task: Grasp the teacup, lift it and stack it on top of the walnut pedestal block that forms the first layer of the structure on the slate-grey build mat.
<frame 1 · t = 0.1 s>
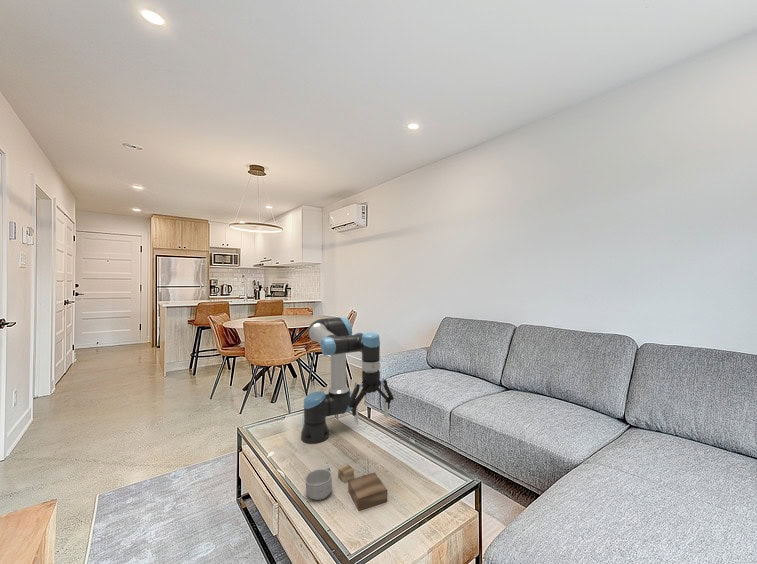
hand: (371, 419, 140), 28 cm above the table, fingers open, 13 cm apart
pedestal block: (367, 496, 132), point 1 cm above the table, touching build mat
build mat: (365, 495, 134), on the table
teacup: (321, 493, 136), on the table
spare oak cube: (346, 479, 144), on the table
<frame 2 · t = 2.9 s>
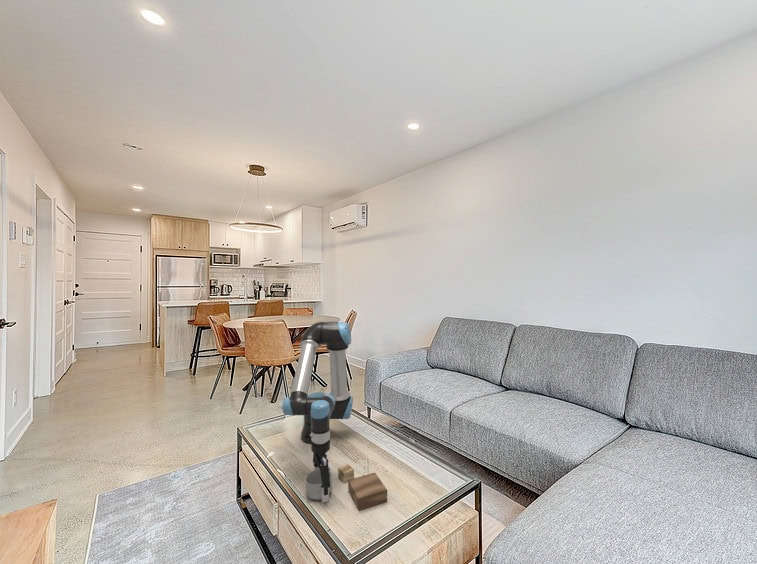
hand: (321, 491, 135), 1 cm above the table, fingers open, 12 cm apart
teacup: (321, 493, 136), on the table, touching gripper
everything else where it was.
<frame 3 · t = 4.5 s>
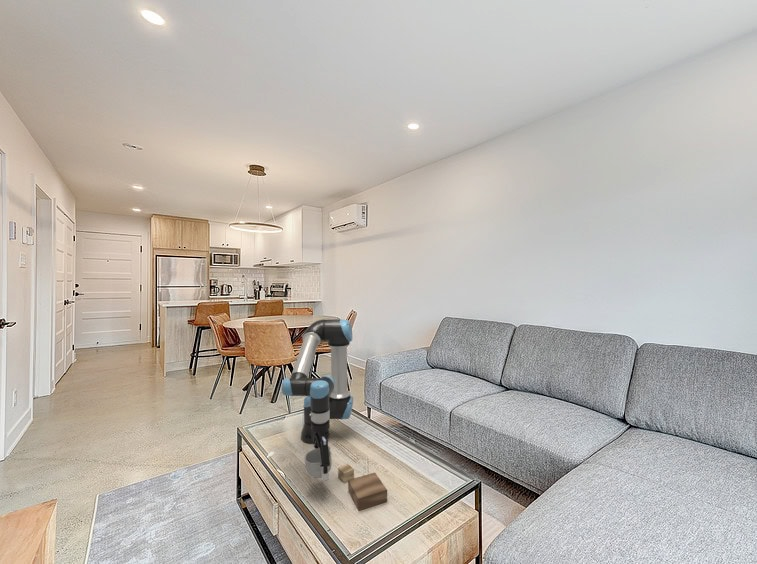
hand: (321, 471, 136), 9 cm above the table, fingers closed on teacup, 11 cm apart
teacup: (321, 471, 137), point 8 cm above the table, touching gripper
everything else where it was.
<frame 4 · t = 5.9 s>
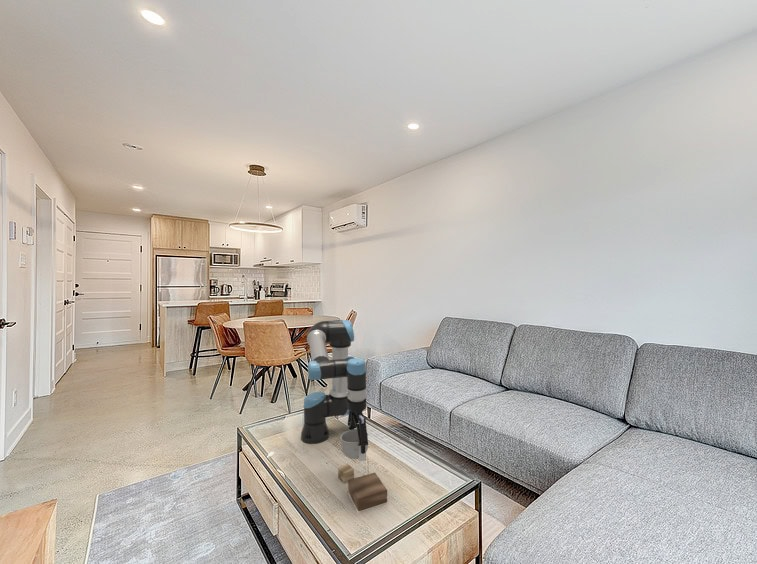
hand: (357, 452, 131), 19 cm above the table, fingers closed on teacup, 11 cm apart
teacup: (356, 453, 132), point 18 cm above the table, touching gripper
everything else where it was.
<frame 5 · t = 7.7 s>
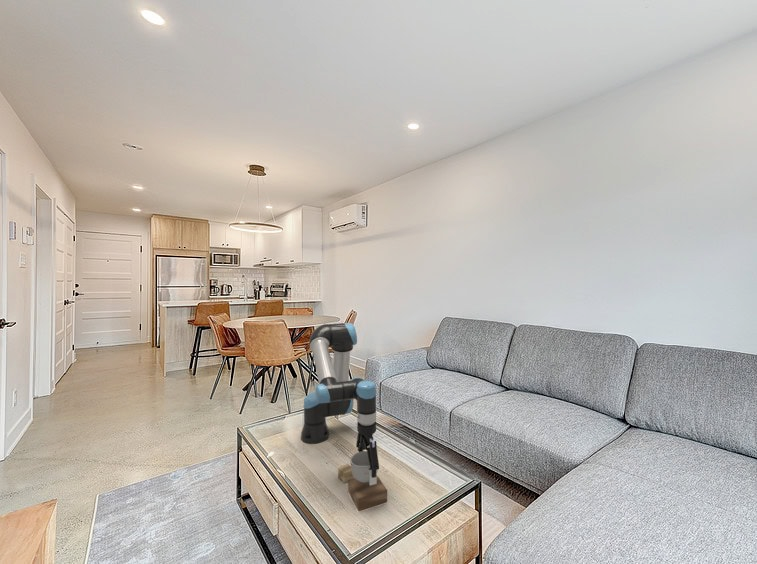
hand: (367, 475, 131), 10 cm above the table, fingers closed on teacup, 11 cm apart
teacup: (366, 475, 132), point 9 cm above the table, touching gripper
everything else where it was.
when the fingers open (7 cm above the table, at t = 8.9 s): teacup stays where it is, resting on pedestal block.
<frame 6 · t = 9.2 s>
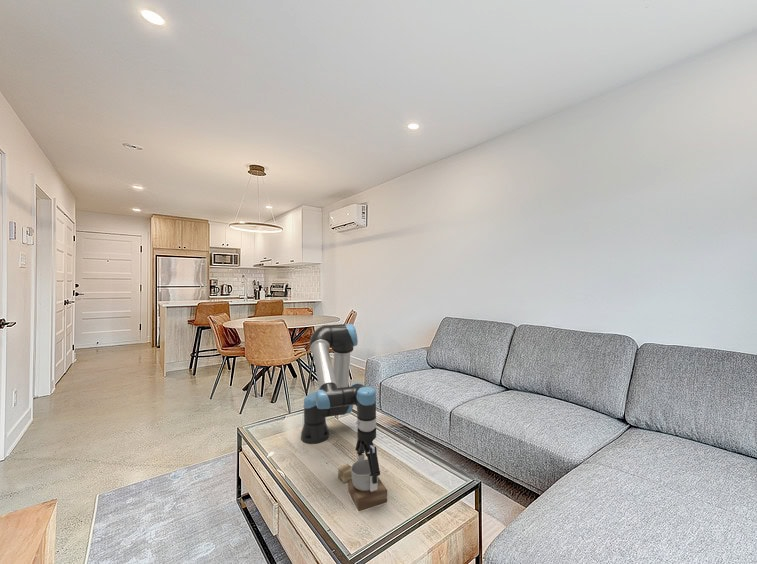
hand: (367, 479, 132), 8 cm above the table, fingers open, 13 cm apart
pedestal block: (367, 496, 132), point 1 cm above the table, touching build mat, teacup
teacup: (366, 484, 132), point 5 cm above the table, touching pedestal block
everything else where it was.
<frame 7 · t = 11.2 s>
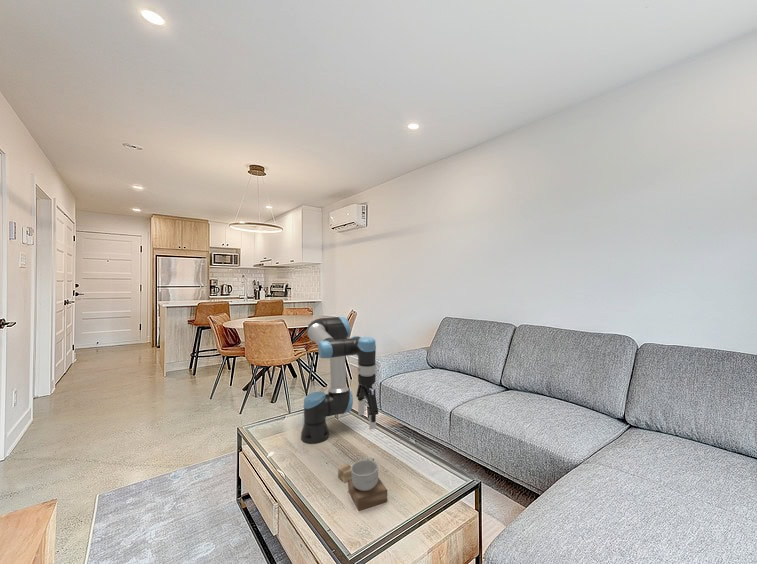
hand: (366, 421, 144), 25 cm above the table, fingers open, 13 cm apart
nothing on the table moved.
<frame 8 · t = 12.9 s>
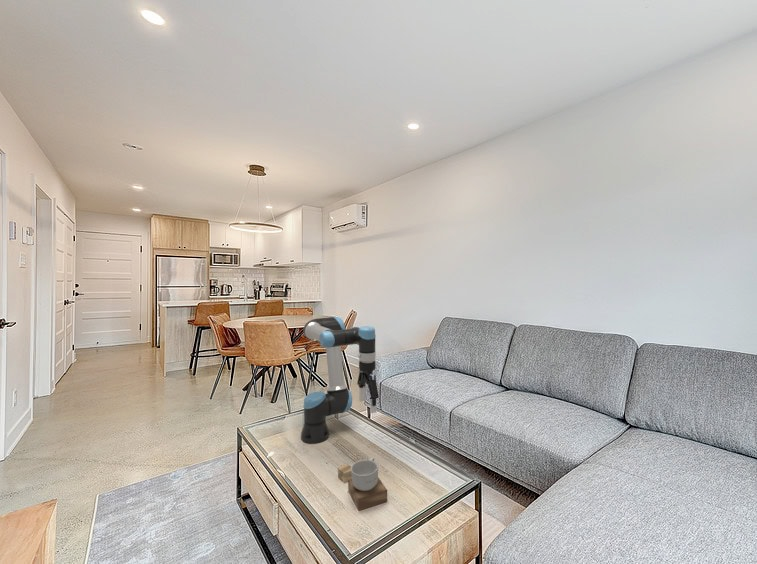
hand: (367, 406, 151), 29 cm above the table, fingers open, 13 cm apart
nothing on the table moved.
at the end: teacup inside the target area on the pedestal block (0.6 cm from its centre), point 4.8 cm above the pedestal block's base; teacup tilted 0°; the gripper is holding nothing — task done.
